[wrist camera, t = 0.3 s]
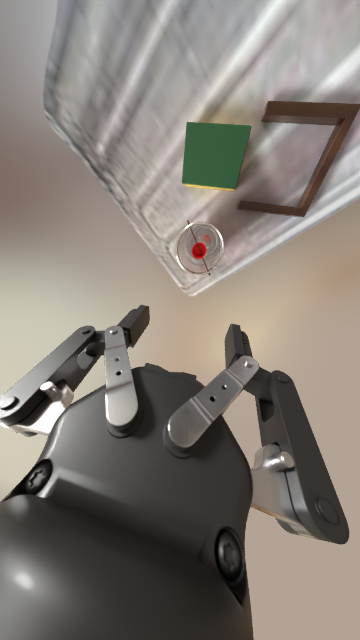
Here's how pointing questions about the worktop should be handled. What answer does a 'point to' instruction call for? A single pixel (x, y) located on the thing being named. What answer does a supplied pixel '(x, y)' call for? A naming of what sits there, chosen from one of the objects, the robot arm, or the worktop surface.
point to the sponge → (214, 155)
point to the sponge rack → (323, 116)
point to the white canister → (199, 248)
